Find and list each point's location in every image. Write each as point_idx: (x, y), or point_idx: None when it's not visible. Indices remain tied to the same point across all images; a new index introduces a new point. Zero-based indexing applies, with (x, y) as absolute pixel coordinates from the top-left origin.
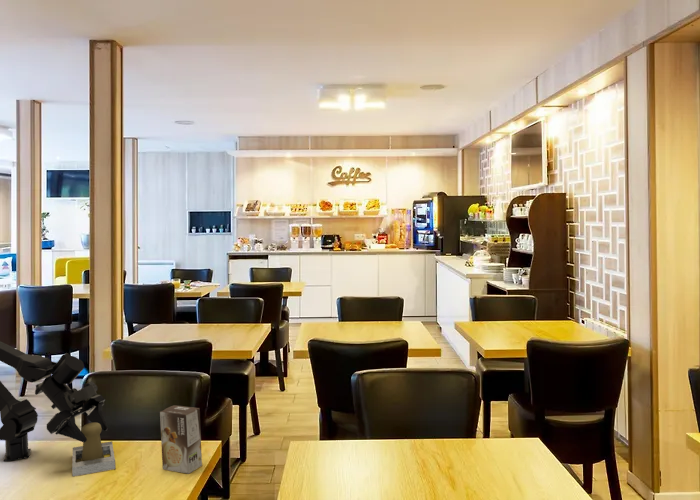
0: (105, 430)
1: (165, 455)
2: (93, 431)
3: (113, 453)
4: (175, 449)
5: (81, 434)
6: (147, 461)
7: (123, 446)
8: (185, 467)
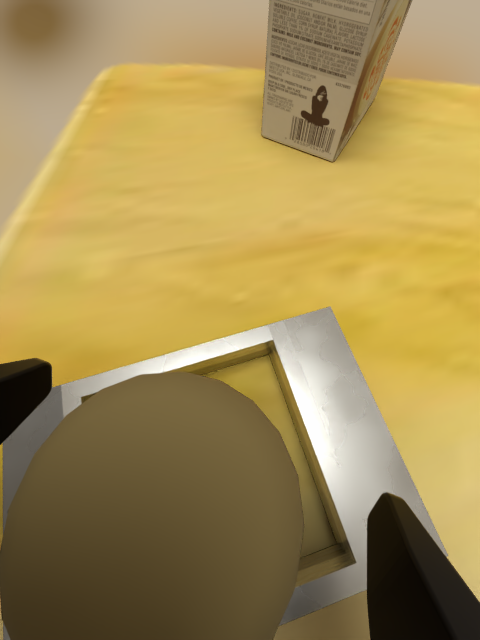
0: (51, 385)
1: (360, 94)
2: (282, 441)
3: (227, 338)
4: (397, 24)
5: (470, 597)
6: (249, 219)
7: (15, 357)
8: (380, 81)
